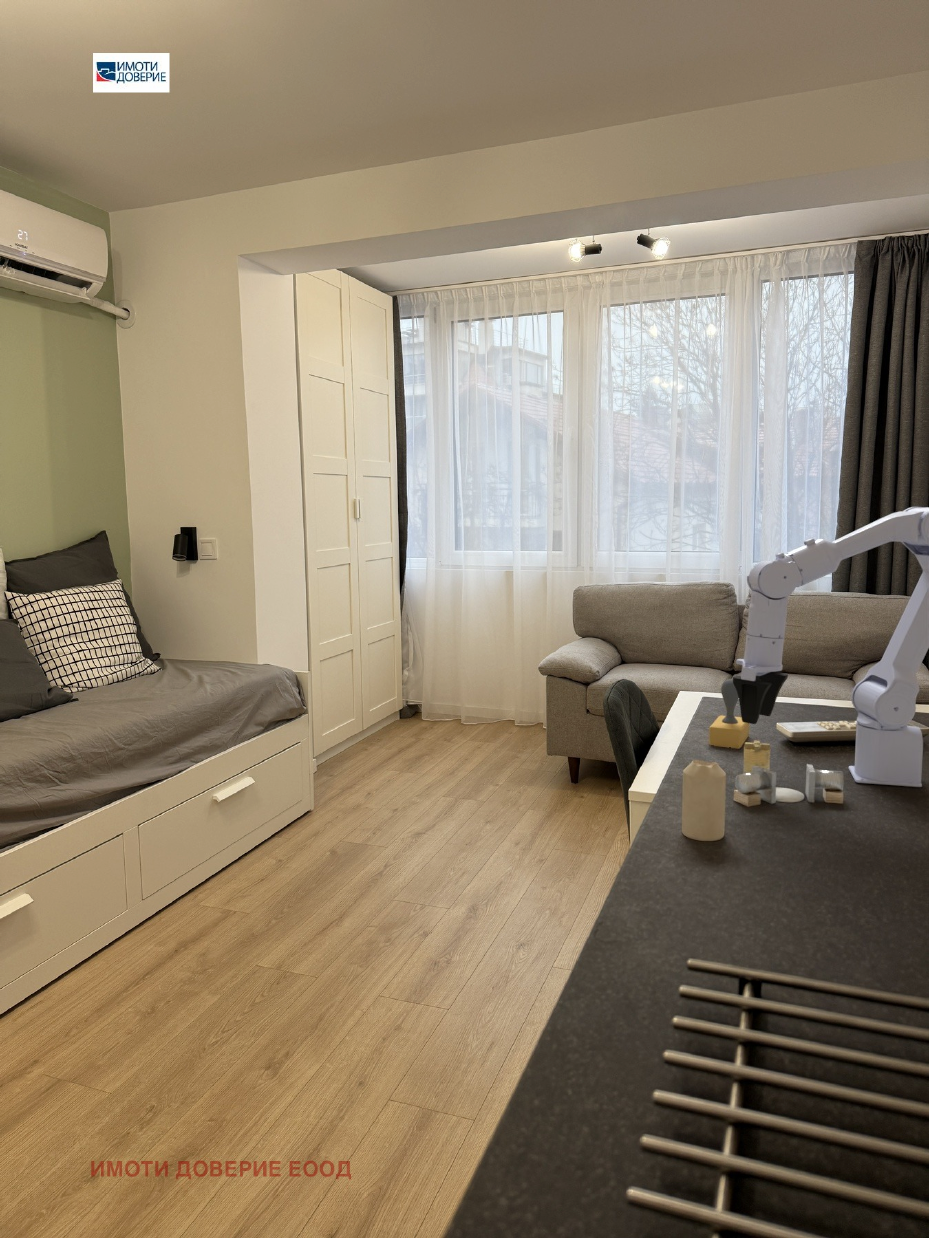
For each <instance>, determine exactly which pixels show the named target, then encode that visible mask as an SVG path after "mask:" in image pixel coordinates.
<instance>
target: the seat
mask: <svg viewBox="0 0 929 1238" xmlns="http://www.w3.org/2000/svg"><path fill="white" fill-rule="evenodd" d="M804 799H805V794H804V793H803V792H801V791H799V790H796V789H792V788H788V787H778V786H776V801H775V802H780V803H799V802H802V801H804Z"/></svg>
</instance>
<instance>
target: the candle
mask: <svg viewBox="0 0 929 1238" xmlns="http://www.w3.org/2000/svg"><path fill="white" fill-rule="evenodd" d="M726 782H727V773H726V772H725V771H724V770H723V768H722V767H721V766H720V765H719V764H718V763H717V762H715V761H713V762H707V761H704V760H697V759H693V760H692V761H691V762H690V763H689V764H688V765H687V766H686V767H685V768H684V769H683V771H682V798H681V799H682V802H681V803H682V805H681V810H682V811H681V833H682V835H684V836H685V837H687V838H688V839H691V840H694V841H695V840H696V841H700V842H715V841H719V840H722V839H723V838H724V836H725V824H726V822H725V821H726V819H725V818H726V792H727V791H726V789H727V788H726V786H727V784H726Z"/></svg>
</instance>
